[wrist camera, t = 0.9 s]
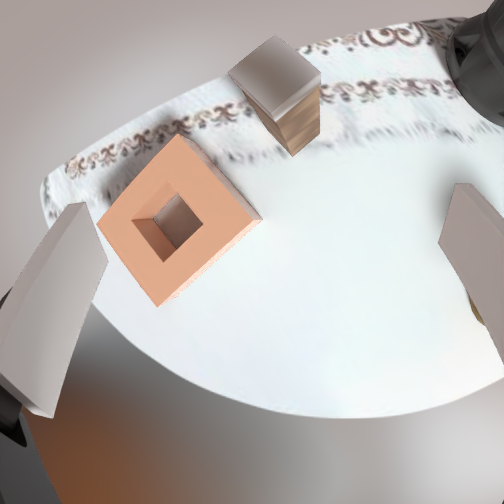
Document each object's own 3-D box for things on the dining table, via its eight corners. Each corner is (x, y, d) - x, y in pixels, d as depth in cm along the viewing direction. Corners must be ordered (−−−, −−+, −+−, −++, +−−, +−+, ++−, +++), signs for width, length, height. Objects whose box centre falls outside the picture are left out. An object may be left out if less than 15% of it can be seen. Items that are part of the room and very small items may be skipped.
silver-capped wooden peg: (295, 107, 33) (275, 34, 18) (321, 133, 33) (320, 72, 17) (267, 131, 34) (227, 72, 19) (292, 158, 34) (270, 113, 18)
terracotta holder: (195, 142, 36) (177, 133, 31) (262, 219, 35) (253, 220, 30) (119, 222, 39) (96, 224, 34) (176, 296, 38) (157, 307, 34)
